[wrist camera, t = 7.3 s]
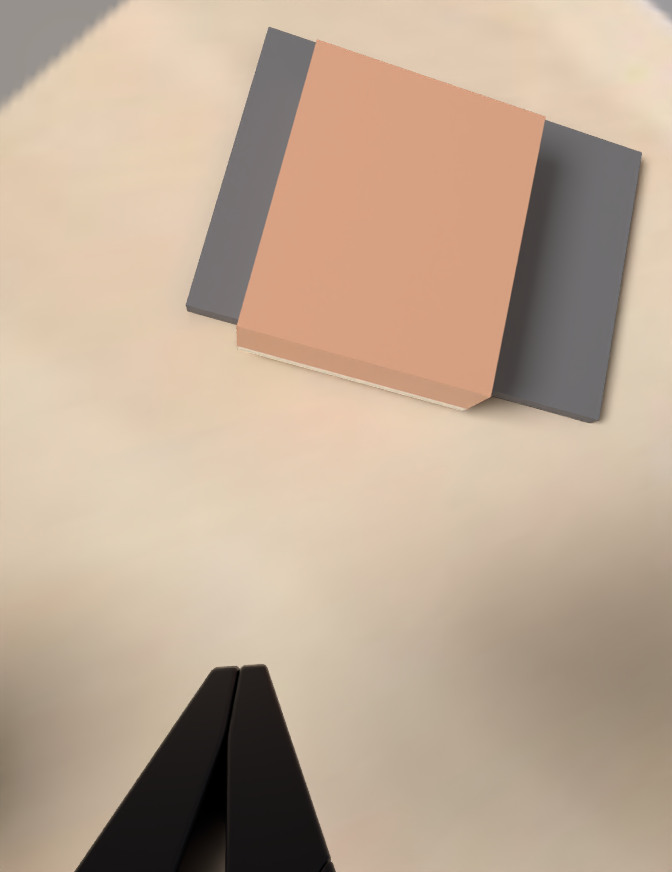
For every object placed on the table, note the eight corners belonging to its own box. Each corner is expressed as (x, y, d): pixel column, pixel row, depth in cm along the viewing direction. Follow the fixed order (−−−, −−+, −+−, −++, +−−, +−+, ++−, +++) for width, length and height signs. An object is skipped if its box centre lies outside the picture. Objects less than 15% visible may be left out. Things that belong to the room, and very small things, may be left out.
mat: (589, 422, 22) (599, 420, 22) (187, 311, 21) (185, 304, 20) (632, 161, 24) (641, 152, 24) (268, 39, 23) (268, 26, 22)
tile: (491, 396, 19) (545, 116, 20) (236, 326, 18) (316, 39, 20) (463, 411, 21) (514, 158, 23) (237, 349, 20) (308, 91, 22)
